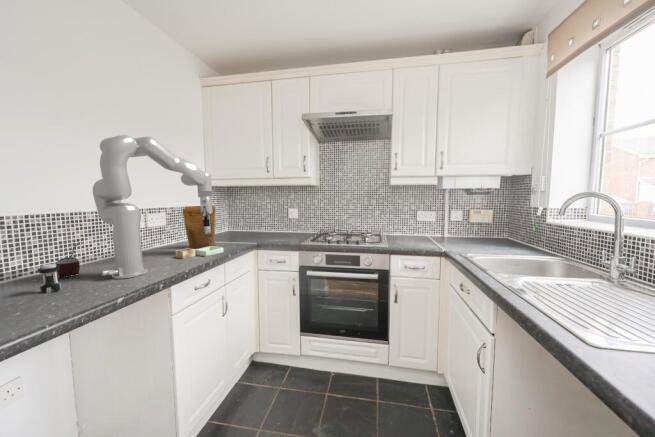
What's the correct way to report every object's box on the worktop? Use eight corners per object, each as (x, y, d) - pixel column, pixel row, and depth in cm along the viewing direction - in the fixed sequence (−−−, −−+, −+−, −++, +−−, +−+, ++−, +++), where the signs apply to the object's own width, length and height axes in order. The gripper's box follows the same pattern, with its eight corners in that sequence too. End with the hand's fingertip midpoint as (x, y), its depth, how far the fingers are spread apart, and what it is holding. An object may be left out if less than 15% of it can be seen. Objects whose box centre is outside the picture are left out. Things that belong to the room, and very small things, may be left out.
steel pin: (207, 233, 148) (206, 217, 147) (203, 233, 149) (202, 217, 148) (211, 232, 150) (210, 217, 149) (208, 232, 152) (207, 217, 151)
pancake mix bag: (217, 247, 168) (214, 205, 165) (184, 250, 161) (181, 206, 159) (218, 245, 174) (215, 205, 171) (187, 248, 168) (184, 206, 165)
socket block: (183, 258, 139) (183, 251, 138) (176, 257, 142) (175, 250, 142) (195, 256, 145) (195, 249, 144) (188, 254, 148) (187, 248, 148)
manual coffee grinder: (57, 277, 111) (53, 243, 109) (82, 272, 117) (78, 240, 115) (58, 280, 106) (54, 245, 105) (84, 275, 112) (80, 242, 111)
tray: (206, 256, 143) (206, 251, 143) (193, 254, 148) (193, 249, 148) (223, 252, 153) (223, 247, 153) (211, 250, 159) (210, 246, 158)
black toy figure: (31, 295, 89) (28, 268, 89) (42, 290, 94) (38, 264, 93) (56, 292, 92) (53, 265, 91) (65, 287, 97) (62, 262, 96)
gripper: (209, 194, 141) (212, 227, 142) (214, 194, 156) (216, 224, 158) (194, 194, 139) (197, 228, 140) (200, 194, 154) (202, 224, 156)
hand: (207, 225), depth 149 cm, fingers closed on steel pin, 3 cm apart
